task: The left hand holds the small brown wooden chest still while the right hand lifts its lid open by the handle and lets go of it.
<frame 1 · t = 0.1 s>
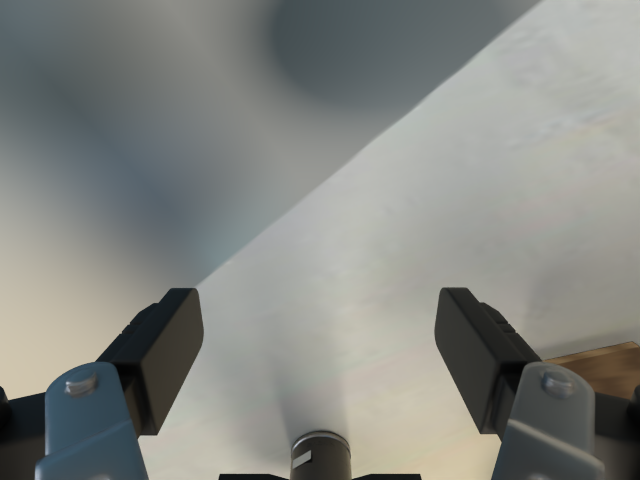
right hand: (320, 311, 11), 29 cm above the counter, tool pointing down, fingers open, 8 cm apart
chest: (572, 380, 50), on the counter
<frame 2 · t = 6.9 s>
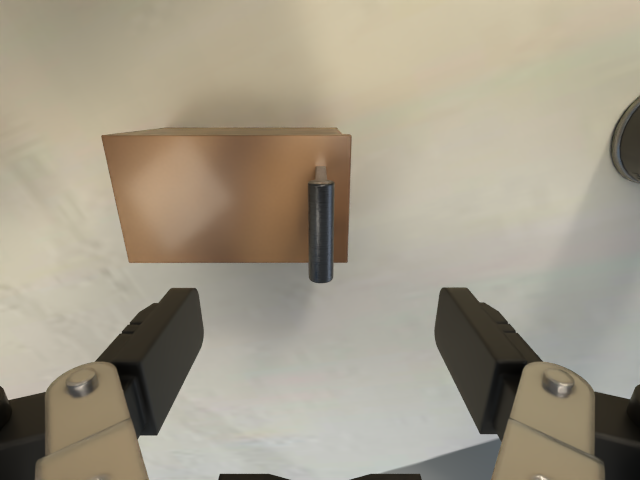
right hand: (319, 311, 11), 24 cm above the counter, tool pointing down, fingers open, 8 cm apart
lid: (221, 215, 22), point 13 cm above the counter, hinge at 0.0°
chest: (254, 177, 34), on the counter
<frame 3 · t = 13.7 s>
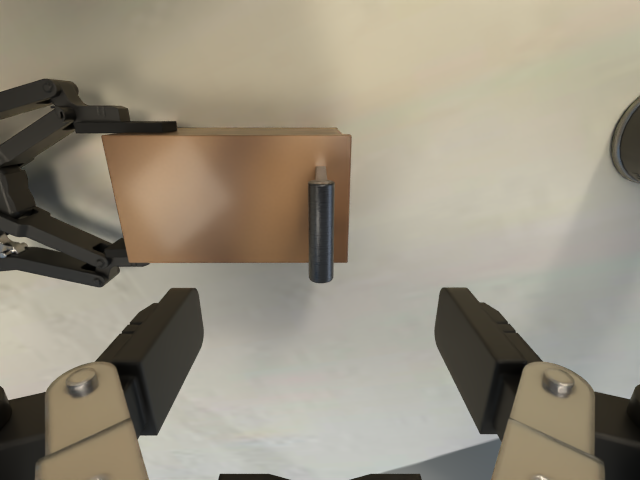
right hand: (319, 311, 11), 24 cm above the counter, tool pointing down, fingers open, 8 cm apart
left hand: (179, 190, 28), fingers closed on chest, 9 cm apart
lid: (221, 215, 22), point 13 cm above the counter, hinge at 0.0°
chest: (254, 177, 34), on the counter, touching left hand
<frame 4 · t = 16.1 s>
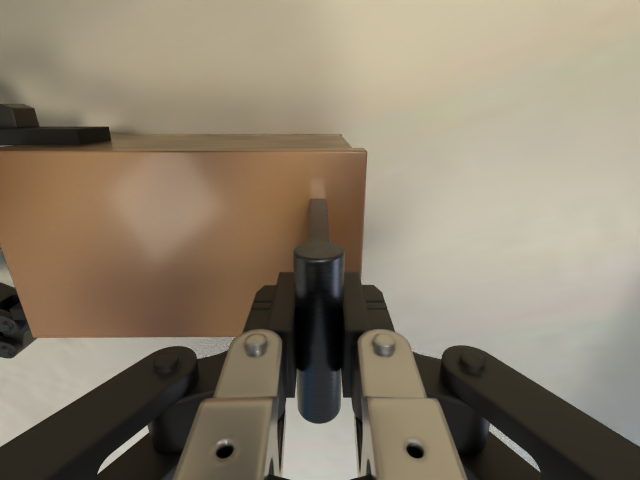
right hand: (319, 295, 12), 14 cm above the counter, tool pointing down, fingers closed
lid: (155, 283, 13), point 13 cm above the counter, hinge at -0.2°, touching right hand
chest: (230, 200, 25), on the counter, touching left hand
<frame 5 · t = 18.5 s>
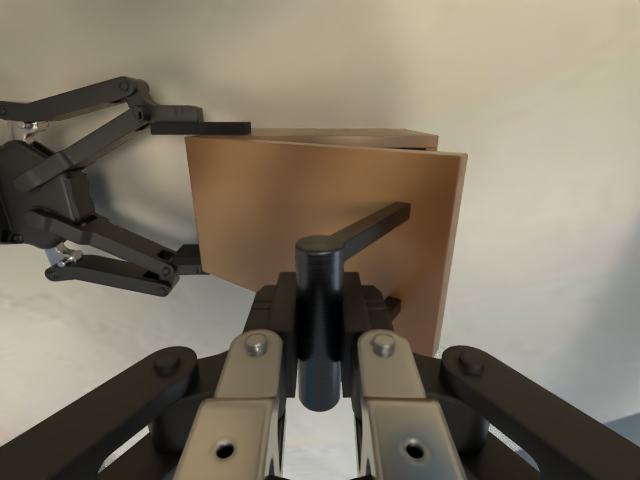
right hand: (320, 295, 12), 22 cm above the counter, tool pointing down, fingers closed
left hand: (252, 195, 27), fingers closed on chest, 9 cm apart
lid: (251, 248, 17), point 17 cm above the counter, hinge at 36.4°, touching right hand
chest: (315, 180, 33), on the counter, touching left hand
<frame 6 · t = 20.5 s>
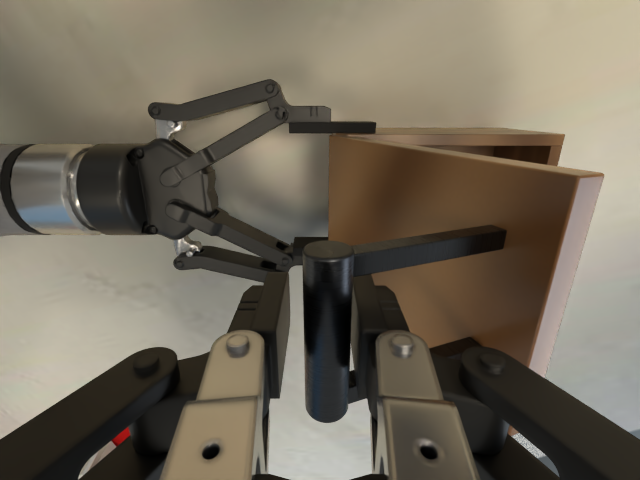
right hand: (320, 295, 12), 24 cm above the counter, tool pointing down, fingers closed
left hand: (369, 190, 29), fingers closed on chest, 9 cm apart
lid: (339, 246, 17), point 19 cm above the counter, hinge at 68.4°
chest: (412, 177, 34), on the counter, touching left hand
toy: (91, 459, 49), on the counter
when the left hand's fingers open (6 cm above the counter, at t = 24.4 s): chest stays where it is, on the counter.
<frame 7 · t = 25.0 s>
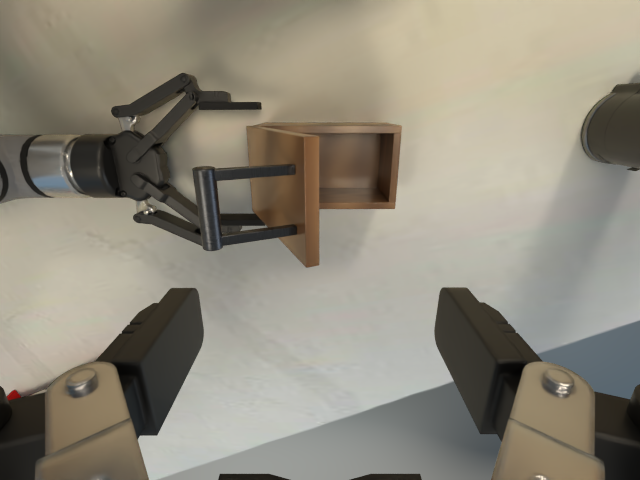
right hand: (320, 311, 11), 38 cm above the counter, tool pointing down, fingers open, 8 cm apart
left hand: (263, 166, 42), fingers open, 13 cm apart
lid: (238, 187, 30), point 19 cm above the counter, hinge at 66.1°
chest: (325, 158, 47), on the counter
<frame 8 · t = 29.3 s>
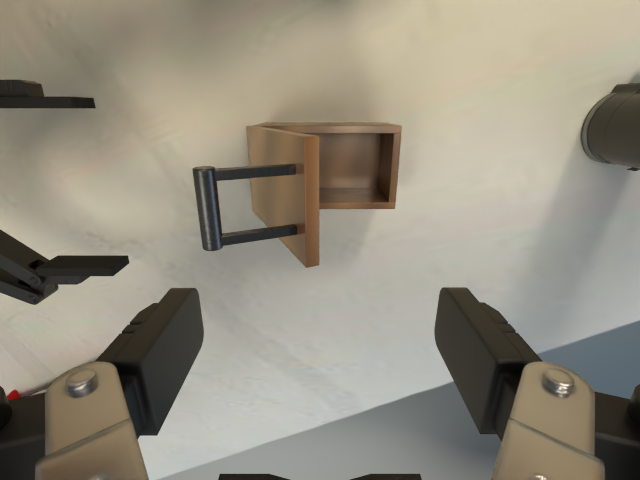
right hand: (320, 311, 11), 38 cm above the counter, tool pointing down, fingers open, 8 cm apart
lid: (238, 187, 30), point 19 cm above the counter, hinge at 66.1°
chest: (325, 158, 47), on the counter
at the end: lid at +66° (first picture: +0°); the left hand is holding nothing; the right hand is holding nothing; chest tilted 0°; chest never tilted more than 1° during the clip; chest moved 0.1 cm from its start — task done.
